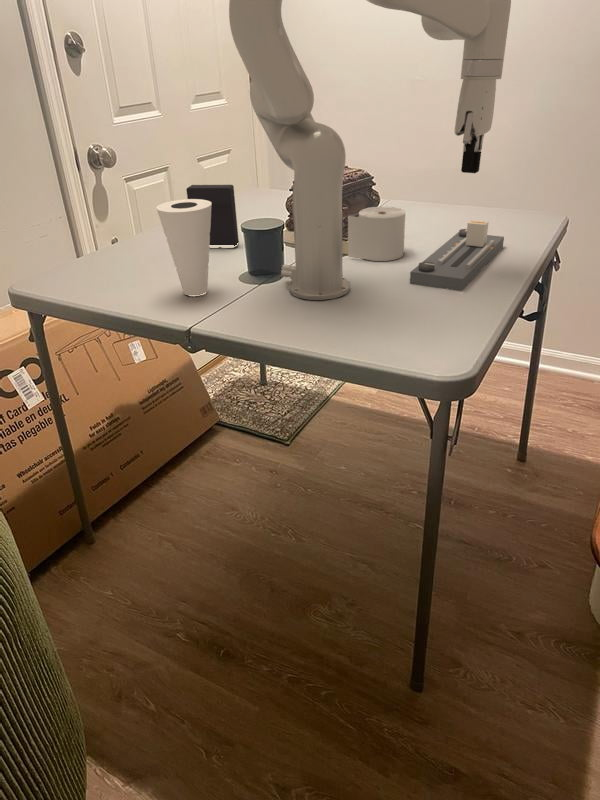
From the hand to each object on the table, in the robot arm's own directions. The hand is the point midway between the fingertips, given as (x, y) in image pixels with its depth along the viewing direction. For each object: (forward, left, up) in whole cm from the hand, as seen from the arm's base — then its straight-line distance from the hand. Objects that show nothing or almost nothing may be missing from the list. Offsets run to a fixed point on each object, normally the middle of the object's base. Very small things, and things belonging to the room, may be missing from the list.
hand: (469, 172), depth 127 cm
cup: (-45, -37, -20) cm, 62 cm away
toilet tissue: (-20, +1, -20) cm, 29 cm away
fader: (0, +9, -17) cm, 20 cm away
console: (-1, +2, -20) cm, 20 cm away
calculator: (-61, -8, -20) cm, 65 cm away
